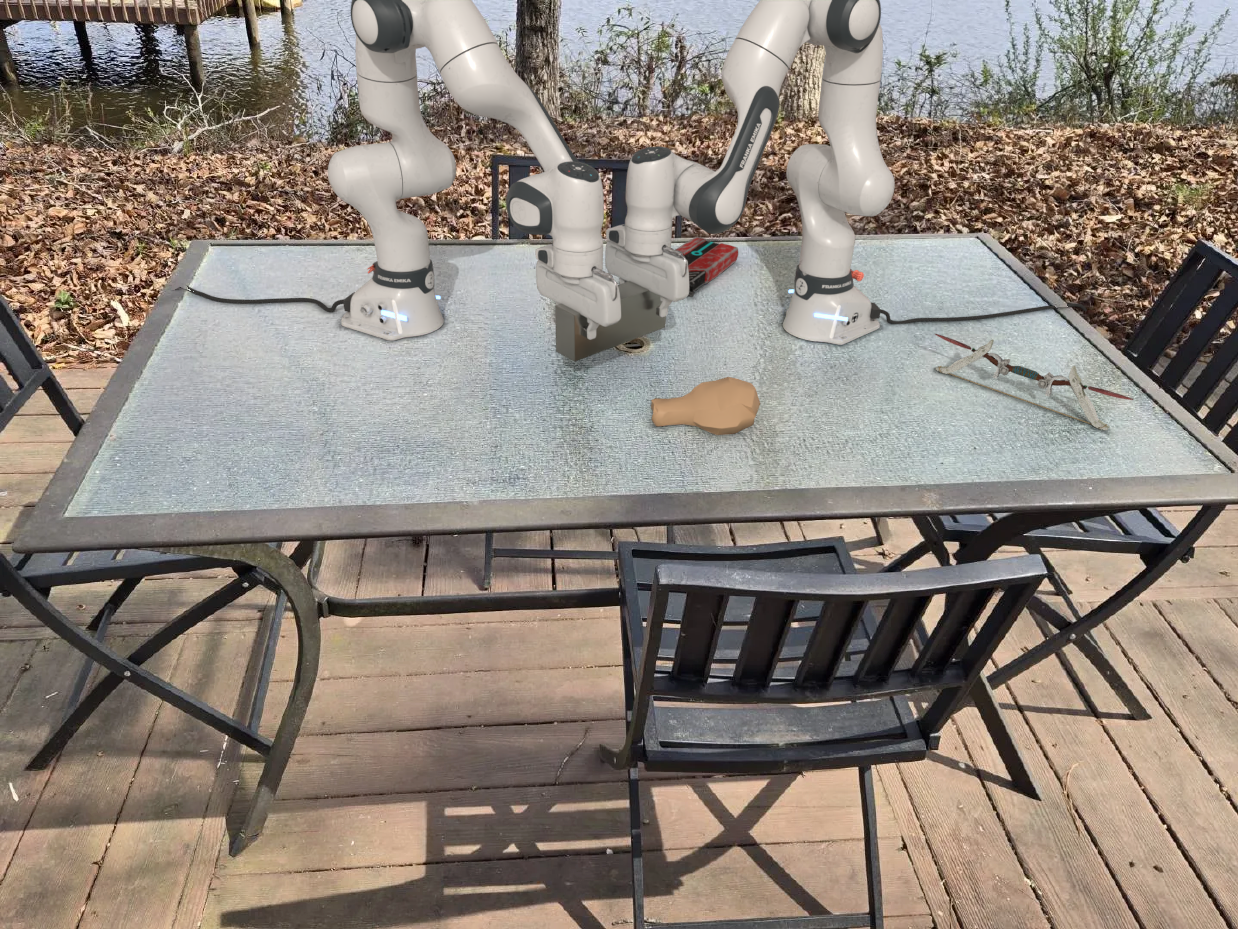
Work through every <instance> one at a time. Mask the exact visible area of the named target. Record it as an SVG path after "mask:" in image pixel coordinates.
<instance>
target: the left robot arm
mask: <svg viewBox="0 0 1238 929" xmlns="http://www.w3.org/2000/svg"><path fill="white" fill-rule="evenodd" d="M350 21H351V25H352V28H353V31H354V33H355V49H354V50H355V52H354V53H355V71H356V82H357V93H358V104H359V109H360V112H361V115H362V116H363V118H364V119H365V120H366V121H367V122H368V123H369V124H370V125H373V126H375V127H376V128H378V129H381V130H384V131H386V132H388V133H390V134H391V138H392V139H391V141H387V142H379V143H370V144H360V145H354V146H351V147H347V148H345V149H341V150H338V151H336V152H334V153H333V155H332V156H331V157H330V159H329V161H328V164H327V179H328V182H329V186H330V188H331V189H332V192H334V194H335V195H336V196H337V197H338V198H339V199H340V200H341V201H342V202H344V203H346V204H348V205H350V206H351V207H353V208H354V209H355V210H356V211H358V212H359V213H360V214H361V216H362V217H363V218H364V220H365V221H366V222H367V224H368V226H369V228H370V231H371V235H372V240H373V243H374V248H375V253H376V254H375V255H376V261H374V262H373V263H372V265H371V266H369V267H368V268H367V274H370V273H372V277H371V278H370V279H369V280H367V282H365V283H364V284H363V285H362V286H360V287H359V288H358V289H356V290H355V291H353V292H352V293H351V294H349V295H348V296H347V297H345V298H343V299H338V300H336V301H334V302H333V303H332V305H331V307H328V306H327V305H325V303H323V301H321V300H318V299H316V298H311V297H282V298H281V297H280V298H260V299H259V298H258V299H239V298H237V299H236V298H224V297H218V296H214V295H211V294H208V293H205V292H203V291H200V290H197V289H195V288H192V287H190V286H188V285H186V286H187V287H188V289H190V290H191V291H189V290H186V292H189V293H191V294H193V295H196V296H199V297H202V298H204V299H206V300H209V301H212V302H218V303H222V304H223V303H224V304H233V305H234V304H236V305H245V304H246V305H259V304H261V305H262V304H283V303H284V304H285V303H286V304H287V303H311V304H315V305H317V306H318V307H319V308H321V309H322V310H323V311H325V312H327V313H333V312H335V311H336V310H337V307H338V306H340V305H343V309H344V310H343V311H344V312H346V313H344V314H343V316H342V317H341V320H340V324H341V326H342V327H344V328H347V329H350V330H354V331H357V332H360V333H364V334H367V335H370V336H373V337H377V338H380V339H383V340H387V341H396V340H397V341H398V340H401V339H404V338H412V337H420V336H423V335H427V334H430V333H431V334H432V333H434V332H436V331H437V330H439V329H441V327H442V326H443V325H444V323H445V320H444V317H443V314H442V312H441V310H440V307H439V303H438V300H441V295H436V291H435V271H434V264H433V260H432V259H431V253H430V243H429V232H428V229H427V226H426V225H425V223H424V222H423V221H422V220H421V219H420V218H419V217H417V216H415V215H414V214H413V215H412V214H410V213H408V212H404V211H401V210H399V209H398V207H397V201H399V200H402V199H403V200H404V199H411V198H419V197H425V196H432V195H434V194H437V193H440V192H443V191H445V190H447V189H451V187H452V186H453V184H454V181H455V179H456V175H457V162H456V158H455V155H454V153H453V152H452V150H451V149H450V147H449V146H448V145H447V144H446V143H444V142H443V141H442V140H440V139H439V138H437V137H436V136H435V135H434V134H433V133H432V131H430V129H429V128H428V127H427V125H426V122H425V121H424V117H423V114H422V112H421V107H420V104H421V103H420V96H419V85H418V68H417V67H418V66H417V55H416V52H417V49H422V48H424V47H425V48H426V49H427V50H428V51H429V53H430V55H431V57H432V59H433V61H434V64H435V66H436V68H437V71H438V73H439V74H440V77H441V79H442V81H443V83H444V86H445V87H446V89H447V91H448V93H449V94H450V95H451V97H452V99H453V100H454V101H455V102H456V104H457V105H458V106H459V107H460V108H462V109H463V110H465V111H466V112H468V113H471V114H473V115H476V116H479V117H484V118H489V119H494V120H497V121H500V122H503V123H505V124H508V125H509V126H511V127H513V128H514V129H516V130H517V131H518V132H519V133H520V134H521V136H522V137H523V139H524V140H525V142H526V144H527V145H528V147H529V148H530V150H531V152H532V153H533V155H534V156H535V157H536V160H537V161H538V163H539V165H540V166H541V168H542V169H543V172H540V173H536V174H532V175H530V176H527V177H524V178H521V179H519V180H517V181H515V182H513V183H511V185H510V186H509V188H508V191H507V192H506V197H505V198H506V199H505V206H506V207H505V208H506V212H507V216H508V218H509V220H510V222H511V223H512V225H513V226H514V227H515V228H516V229H518V230H519V231H520V232H522V233H523V234H526V235H535V236H545V235H548V236H551V238H552V243H550V244H546V245H543V246H540V247H537V248H535V250H534V255H535V259H536V260H537V261H536V264H535V282H536V284H535V285H536V288H537V290H538V293H539V294H540V295H542V296H544V297H546V298H548V300H549V299H550V300H551V301H553V302H555V305H558V304H563V305H565V306H567V307H569V308H571V309H573V310H575V311H577V312H579V313H580V314H581V315H582V316H584V317H586V318H587V322H588V323H589V326H588V328H585V329H584V337H586V338H588V339H590V340H591V339H594V338H595V337H596V329H597V328H598V326H599V324H600V325H602V326H604V327H607V326H610V325H613V324H616V323H618V322H619V320H620V319H621V300H620V292H619V288H618V285H619V284H618V282H617V281H616V280H615V278H614V275H612V274H610V273H608V272H606V271H604V270H603V269H604V239H603V235H602V227H603V224H604V221H605V220H604V219H605V215H604V214H605V197H604V187H603V182H602V178H601V176H600V175H601V174H599V171H598V170H597V169H595V167H593V166H592V165H589V164H587V163H585V162H580V160H579V159H578V158H577V157H576V156H575V155H574V153H573V151H572V150H571V148H570V146H569V145H568V143H567V142H566V140H565V139H564V137H563V135H562V134H561V132H560V130H559V128H558V127H557V125H556V124H555V122H554V120H553V119H552V117H551V115H550V114H549V112H548V111H547V108H546V107H545V105H544V104H543V102H542V101H541V99H540V98H539V96H538V95H537V93H536V92H535V91H534V89H533V88H532V87H531V86H530V85H529V84H528V83H527V82H525V81H524V80H523V79H522V78H521V77H520V76H519V75H518V74H517V72H516V71H515V70H514V69H513V67H512V66H511V64H510V63H509V61H508V60H507V58H506V56H505V55H504V53H503V51H502V50H501V48H500V46H499V43H498V41H497V39H496V37H495V36H494V33H493V31H492V30H491V28H490V26H489V24H488V23H487V21H486V19H485V18H484V16H483V14H482V13H481V11H480V10H479V8H478V6H477V5H476V4H475V3H474V1H473V0H351V2H350ZM193 291H194V292H193Z"/></svg>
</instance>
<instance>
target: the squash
mask: <svg viewBox="0 0 1238 929" xmlns="http://www.w3.org/2000/svg"><path fill="white" fill-rule="evenodd" d="M760 406H761V401H760V397H759V395H758V391H757V388H756V387H755V385H753V383H752V382H748V381H745V380H742V379H740V378H736V377H731V376H726V377H722V378H719V379H715V380H710V381H709V380H708V381H703V382H700V383H699V384H698V385H696V386H695V387H693V389H692V390H691V391H689V392H687V393H686V394H685V395H682V396H677V397H669V398H659V397H655V398H652V399H651V402H650V409H651V410H652V415H651V421H652V423H653V424H654V426H655V427H666V426H676V425H686V426H692V427H693V426H694V427H697V428H699V429H701V430H703V431H705V432H708V433H710V434H712V435H715V436H726V435H728V436H729V435H736V434H738V433H739V432H742V431H744V430H746V429H749V428H750V427H752V426H754V425H755V418H756V417H757V414H758V412H759V409H760Z"/></svg>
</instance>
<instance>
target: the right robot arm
mask: <svg viewBox="0 0 1238 929" xmlns="http://www.w3.org/2000/svg"><path fill="white" fill-rule="evenodd" d="M881 18H882V6H881V0H759V1H758V2H757V4H756V5H755V6H754V8H753V9H752V11H751V12H750V14H749V15H748V16H747V18H746V20H745V21H744V23H743V24H742V27H741V28H740V29H739V31H738V33H737V34H736V37H734V38H735V39H734V40H733V42H732V45H730V48H729V50H728V52H727V54H726V56H725V58H724V62H723V65H722V68H721V80H722V85H723V88H724V90H725V93H726V94H727V96H728V98H729V99H730V101H731V103H732V104H733V105H734V108H735V109H736V112H737V126H736V129H735V132H734V134H733V136H732V138H731V141H730V143H729V146H728V149H727V152H726V154H725V156H724V158H723V160H722V163H721V165H720V166H719V168H718V169H717V170H713V169H710V168H709V167H707V166H705V165H703V164H701V163H698V162H696V161H693V160H688V159H685V158H683V157H681V156H679V155H677V154H676V153H674V152H673V151H672V150H671V149H670V148H669V147H665V146H659V145H658V146H648V147H644V148H641V149H639V150H637V151H636V152H635V153H633V155H631V158H630V160H629V162H628V165H627V166H628V167H627V172H626V181H625V182H626V183H625V204H626V216H625V219H624V224H623V223H622V224H619V225H616V226H613V227H610V228H607V229H606V230H605V238H606V240H607V242H606V244H605V250H604V253H605V254H604V260H605V261H604V264H605V265H604V266H605V268H606V271H607V273H610V274H611V275H612V276H613V277H614V276H615V277H617V278H618V279H619V281H618V282H619V284H622V283H625V282H628V281H631V282H633V283H635V284H637V285H639V286H642V287H644V288H646V289H648V290H649V291H650V292H652V293H655V294H657V295H659V296H661V297H660V300H661V301H663V302H662V304H661V305H660V306H658V307H656V311H657V312H656V315H658V316H660V317H665V316H666V317H667V316H668V314H669V307H670V305H672V303H677V302H680V301H683V300H685V299H686V298H688V297H689V296H688V295H689V270H688V262H687V260H686V258H685V257H684V256H683V253H682V252H680V251H678V250H675V249H674V248H673V247H672V239H673V238H672V237H673V220H674V218H675V217H677V216H678V217H679V216H681V217H683V218H685V219H687V220H688V221H689V222H692V223H693V224H694V225H696V226H697V227H699V228H700V229H701V230H702V231H704V232H705V233H707V234H712V235H716V234H722V233H724V232H726V231H728V230H730V229H731V228H732V227H734V225H736V223H737V222H738V221H739V220H740V219H741V217H742V215H743V213H744V211H745V207H746V203H747V199H748V194H749V191H750V187H751V184H752V182H753V178H754V176H755V175H756V174H755V173H756V171H757V169H758V167H759V164H760V162H761V159H762V156H763V154H764V151H765V149H766V146H767V144H768V143H769V142H768V141H769V139H770V137H771V134H772V132H773V130H774V127H775V124H776V121H777V119H778V116H779V112H780V98H779V96H780V92H781V88H782V86H783V83H784V80H785V78H786V76H787V74H788V72H789V70H790V68H791V67H792V64H793V63H794V60H795V59H796V57H797V54H798V52H799V49H800V48H801V47H802V46H803V45H804V44H805V43H807V44H810V45H814V46H823V48H824V51H825V56H824V62H823V67H822V68H823V69H822V76H821V85H820V94H819V103H818V111H817V112H818V113H817V118H818V123H819V125H820V127H821V129H822V130H823V132H824V133H825V135H826V137H827V139H828V142H829V145H828V144H821V143H805V144H803V145H800V146H799V147H798V148H796V149H795V151H794V152H792V154H791V156H790V158H789V159H788V163H787V165H786V173H785V174H786V180H787V182H788V184H789V186H790V187H791V189H792V191H793V193H794V195H795V197H796V200H797V204H798V208H799V213H800V219H801V228H802V230H801V244H800V245H801V246H800V252H799V262H798V264H797V265H796V268H795V273H794V280H793V281H794V286H793V289H788V294H791V299H790V302H789V306H788V309H787V310H786V312H785V317H784V319H783V322H782V328H783V329H784V331H786V332H787V333H788V334H790V335H791V336H793V337H796V338H799V339H801V340H805V341H811V342H819V343H827V344H828V343H829V344H833V345H839V346H841V345H842V346H843V345H845V344H848V343H849V342H852V341H855V340H857V339H860V338H861V337H863V336H866V335H868V334H870V333H872V332H874V331H877V330H878V329H881V328H880V327H881V324H880V321H879V319H880V317H881V315H884V316H885V319H886V322H887V323H888V324H891V325H907V324H913V323H923V322H924V323H927V322H929V323H930V322H961V321H962V322H963V321H975V320H976V321H977V320H985V319H986V320H987V319H995V318H1000V317H1001V318H1002V317H1006V316H1007V317H1008V316H1014V315H1020V314H1027V313H1032V312H1040V311H1046V310H1053V309H1055V310H1056V309H1057V308H1056V307H1055V306H1049V305H1043V306H1036V307H1029V308H1022V309H1016V310H1009V311H1003V312H997V313H990V314H980V315H970V316H956V317H955V316H954V317H916V318H915V317H914V318H910V319H904V320H892V319H891V314H890V312H888V311H887V310H884V309H881V308H880V307H879V306H878V305H877V304H876V302H871V300H870V298H869V297H868V296H867V295H866V294H864V293H863V292H862V291H861V290H860V289H859V288H858V287H856V285H855V284H854V280H855V281H857V282H861V281H862V280H863V279H864V278H865V274H864V272H862V271H859V270H858V269H855V270H853V269H851V267H852V264H853V263H852V262H853V256H854V250H855V245H856V235H855V234H856V233H855V232H854V230H853V227H852V226H851V224H850V223H849V222H848V219H847V216H846V213H847V214H849V215H854V216H861V217H875V216H877V215H879V214H881V213H882V212H883V211H884V210H885V209H886V208H887V207H888V206H889V204H890V203H891V201H892V199H893V197H894V193H895V189H896V188H895V186H896V183H895V177H894V174H893V173H892V171H891V170H890V169H889V167H888V165H887V164H886V162H885V160H884V158H883V154H882V152H881V147H880V143H879V137H878V132H877V113H878V103H879V96H880V94H879V93H880V86H881V79H882V71H883V60H884V59H883V57H884V40H883V39H884V38H883V36H884V35H883V28H882V25H881ZM681 257H682V258H681ZM1066 304H1067V306H1068V307H1067V308H1079V309H1081V311H1083V312H1087V311H1088V309H1087V307H1086V306H1085V305H1083V304H1081V303H1078V302H1070V303H1066Z"/></svg>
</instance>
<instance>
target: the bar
mask: <svg viewBox="0 0 1238 929" xmlns="http://www.w3.org/2000/svg"><path fill="white" fill-rule="evenodd" d="M618 288H619V292H620V300H621V319H620V320H619V322H618V323H616V324H613V325H610V326H607V327H604V326H602V325H600V324H599V326H598V328H597V329H596V337H595V338H594V339H591V340H590V339H588V338H586V337H584V329H585V328H588V326H589V323H588V322H587V318H586V317H584V316H582V315H581V314H580V313H579V312H577V311H575V310H573V309H571V308H569V307H567V306H565V305H563V304H558V305H556V304H555V305H554V312H555V314H554V315H555V317H554V318H555V323H554V324H555V352H556V353H558V354H559V355H561V356H563V357H565V358H567V359H568V360H570V361H572V362H573V363H576V362H578V361H582V360H583V359H587V358H589V357H592V356H594V355H596V354H599V353H602V352H604V351H608V350H610V349H613V348H615V347H618V346H620V345H623V344H625V343H629V342H631V341H634V340H637V339H639V338H641V337H645V336H647V335H649V334H652V333H655V332H658V331H660V330H663V329H665V328H666V323H667V316H665V317H660V316H658V315H656V312H657V311H656V307H658V306H660V305H661V304H662V302H663V301H661V300H660V297H661V296H659V295H657V294H655V293H652V292H650V291H649V290H648V289H646V288H644V287H642V286H639V285H637V284H635V283H633V282H631V281H628V282H625V283H622V284H620V283H619V284H618Z"/></svg>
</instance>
